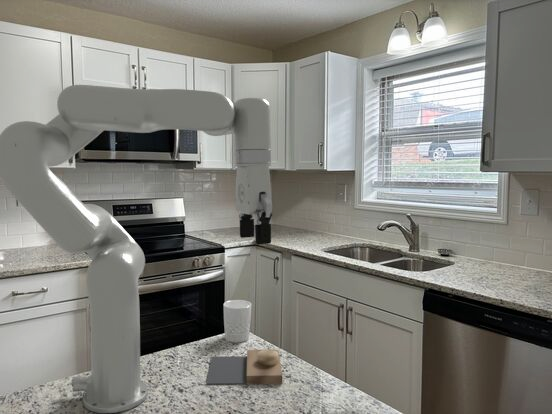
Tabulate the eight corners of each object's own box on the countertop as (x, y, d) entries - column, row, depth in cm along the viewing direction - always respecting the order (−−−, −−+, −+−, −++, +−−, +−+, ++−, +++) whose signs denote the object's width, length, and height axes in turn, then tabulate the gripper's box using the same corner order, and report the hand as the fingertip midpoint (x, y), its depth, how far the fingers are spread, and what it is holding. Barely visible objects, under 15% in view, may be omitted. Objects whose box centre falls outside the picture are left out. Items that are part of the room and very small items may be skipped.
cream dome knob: (257, 366, 101) (257, 358, 100) (257, 357, 106) (257, 349, 105) (278, 366, 101) (279, 358, 101) (277, 357, 106) (277, 349, 106)
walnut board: (246, 384, 96) (246, 375, 96) (247, 357, 110) (247, 349, 110) (282, 383, 97) (282, 375, 96) (278, 357, 111) (278, 349, 110)
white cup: (217, 338, 122) (217, 304, 121) (236, 331, 128) (236, 298, 128) (238, 346, 117) (238, 310, 117) (256, 337, 124) (257, 303, 123)
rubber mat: (206, 384, 96) (206, 383, 96) (211, 357, 110) (211, 356, 110) (246, 384, 96) (246, 383, 96) (247, 357, 110) (247, 356, 110)
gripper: (223, 160, 96) (226, 236, 98) (250, 158, 81) (252, 248, 82) (255, 160, 99) (256, 233, 101) (286, 157, 84) (288, 245, 85)
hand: (254, 240), depth 91 cm, fingers open, 9 cm apart
